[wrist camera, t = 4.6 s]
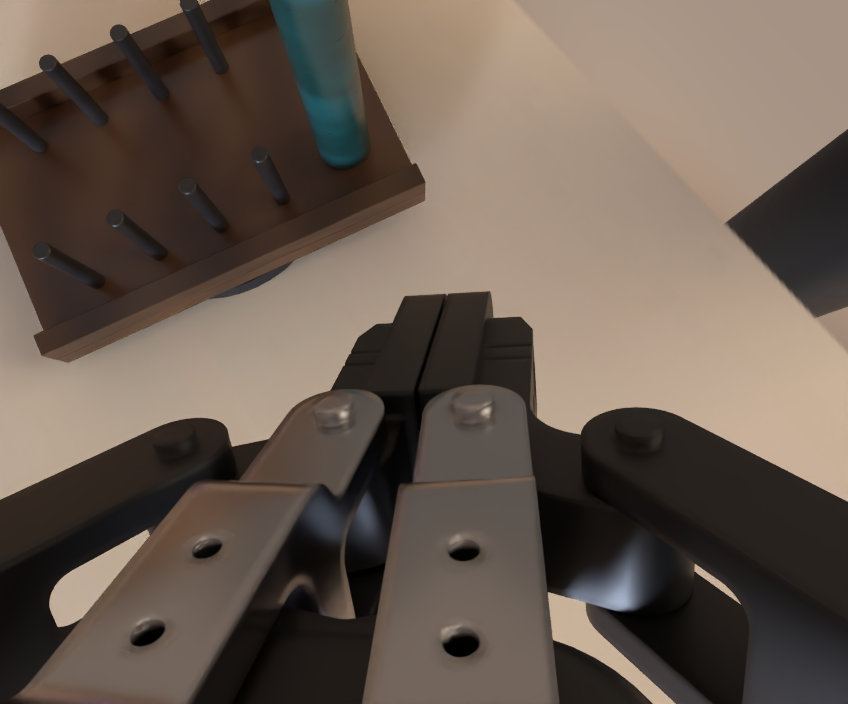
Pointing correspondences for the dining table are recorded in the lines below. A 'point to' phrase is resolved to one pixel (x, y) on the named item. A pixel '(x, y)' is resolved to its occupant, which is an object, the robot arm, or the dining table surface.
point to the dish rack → (190, 163)
